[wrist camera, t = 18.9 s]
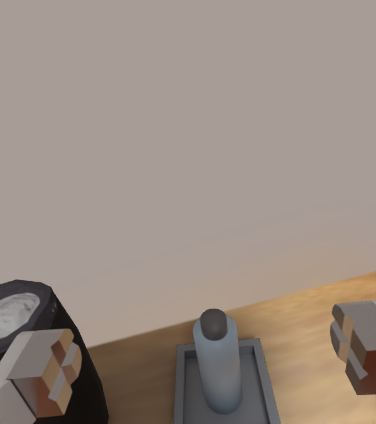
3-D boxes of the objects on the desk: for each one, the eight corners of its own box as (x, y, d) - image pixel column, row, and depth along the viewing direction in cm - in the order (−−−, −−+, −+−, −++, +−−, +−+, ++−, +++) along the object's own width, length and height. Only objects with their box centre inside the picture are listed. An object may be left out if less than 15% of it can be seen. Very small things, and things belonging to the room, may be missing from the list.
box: (175, 461, 29) (171, 451, 28) (179, 354, 40) (177, 345, 39) (285, 455, 29) (285, 444, 28) (259, 348, 39) (259, 338, 38)
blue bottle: (206, 416, 32) (192, 341, 26) (202, 378, 36) (189, 305, 30) (246, 411, 32) (240, 334, 26) (238, 373, 36) (231, 299, 30)
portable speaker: (47, 402, 37) (-24, 282, 28) (121, 390, 37) (73, 267, 28) (17, 491, 29) (-95, 364, 20) (110, 475, 29) (39, 342, 20)
